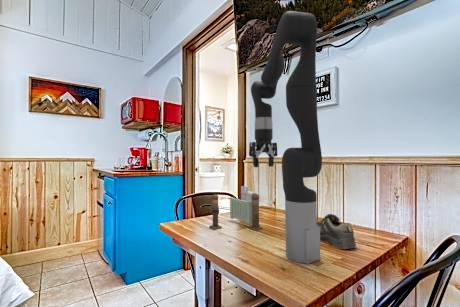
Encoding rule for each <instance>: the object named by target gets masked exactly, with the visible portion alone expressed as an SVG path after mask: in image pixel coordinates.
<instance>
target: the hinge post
mask: <svg viewBox="0 0 460 307" xmlns="http://www.w3.org/2000/svg"><path fill="white" fill-rule="evenodd" d="M251 199H252V224H251V225H250V226H248V229H250V230H253V231H259V230H263V226H260V196H259V194H257V192H256V193H255V194H253V195H252V196H251Z"/></svg>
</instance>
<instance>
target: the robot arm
mask: <svg viewBox="0 0 460 307" xmlns="http://www.w3.org/2000/svg"><path fill="white" fill-rule="evenodd" d="M317 35H318V23H317V17H316V16H315V14H313V13H309V12H302V11H297V10H296V11H295V10H287V11H285V12H283V14H282V16H281V18H280V20H279V22H278V24H277V27H276V32H275V34H274V38H273V40H272V41H273V42H272V45H271V50H270V51H269V52H270V53H269V56H268V59H267V62H266V65H265V66H264V68H263V71H262V73H261V77H260V80H257V81H254V82H253V83H252V84H251V87H250V93H251V97H252V100H253V104H254V116H255V118H254V119H255V120H254V140H255V141H249V150H248V151H249V152H248V156H249V157H251V158H252V164H253V165H252V166H253V168H258V167H259V166H260V165H259V164H260V163H259V162H260V160H259V157H260V156H261V154H262V153H265V154H266V155H267V156H268V167H272V168H273V167H274V161H275V160H274V158H275V157H277V156H278V143H277V142H272V140H273V135H274V134H273V107H272V104H270V103H267V102H264V101H263V100H264V99H267V100H268V99H273V98H274V97H275V95H276V93H277V86H278V82H279V80H280V79H281V77H282V74H283V73H284V71H285V68H286V65H285V59H284V54H283V49H284V47H285V45H293V46H294V45H297V46H299V47H300V53H299V54H300V55H299V61H298V62H297V65H296V66H295V68H294V69H293V71H292V72H291V74H290V76H289V78H288V79H287V82H286V85H285V105H286V109H287V111H288V114H289V115H290V117H291V119H292V120H293V122H294V124H295V126H296V127H297V130H298V133H299V136H300V146H301V147H289V148H286V149H285V150H284V152H283V155H282V158H281V173H282V174H281V176H282V188H283V192H284V200H285V201H284V203H285V204H284V206H285V210H284V211H285V213H284V214H285V216H284V217H285V257H286V258H287V259H288V260H290V261H293V262H297V263H303V264H306V265H308V264H312V263H314V262H318V261H319V260H321V240H320V227H318V226H317V222H318V218H317V216H318V213H317V211H318V208H317V207H318V206H317V205H318V204H317V203H318V202H317V200H318V197H317V192H316V191H315V190H314V189H311V188H308V187H307V186H306V185H305V182H304V178H305V179H306V178H315V177H317V176H318V175H319V174H320V173H321V170H322V166H323V157H322V156H323V155H322V148H321V141H320V133H319V120H318V95H317V94H318V93H317V92H318V90H317V87H318V86H317V74H316V73H317V72H316V67H317V66H316V54H317V38H318V37H317Z"/></svg>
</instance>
